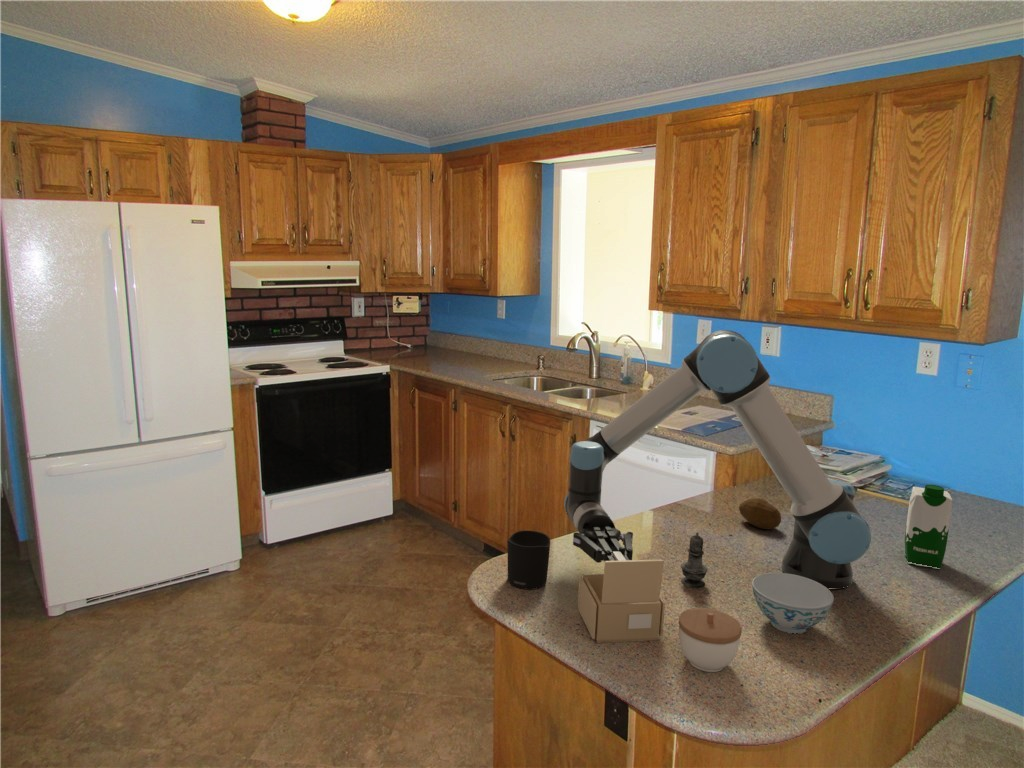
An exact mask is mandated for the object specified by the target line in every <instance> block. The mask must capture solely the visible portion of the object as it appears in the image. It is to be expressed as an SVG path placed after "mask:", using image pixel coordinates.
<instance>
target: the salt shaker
mask: <svg viewBox="0 0 1024 768" xmlns="http://www.w3.org/2000/svg"><path fill="white" fill-rule="evenodd" d="M703 547H704V538H703V537H702V536H700V535H699V532H698V531H697V532H696V533H695V535H691V537H690V538H689V548H688V549H687V553H688V556H687V557H688V559H687V562H683V563H681V565H680V568H681V572H682V575H683V576H684V577H683V578H681V579H680V582H681V584H683V585H684V586H685V587H688V588H692V589H693V588H694V589H700V588H701V589H702V588H704V587H706V582H705V581H704V580H703V579H705V577H706V575H707V573H708V571H709V569H708V567H707V566H706V565H704V564H703V555H704V554H705V552H704V548H703Z"/></svg>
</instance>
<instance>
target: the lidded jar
mask: <svg viewBox="0 0 1024 768" xmlns="http://www.w3.org/2000/svg"><path fill="white" fill-rule="evenodd" d="M741 635H742V624H740V622H739V621H738V620H737V619H736V618H735V617H733V616H732V615H730V614H728V613H726V612H723V611H720V610H716V609H713V608H708V607H707V608H705V607H694V608H689V609H686V610H684V611H683V612H681V613H680V615H679V617H678V639H679V642H678V643H679V647H680V649H681V652H682V653H683V655H684V657H685V658H686V659H687V661H688V662H689V663H690V665H691V666H692V667H693V668H695V669H697V670H700V671H703V672H707V673H717V672H720V671H722V670H723V669H724V668H725V667H728V665H730V664H731V663H732V662H733V661H734V659H735V657H736V656H737V653H738V651H739V647H740V643H741V642H740V641H741Z"/></svg>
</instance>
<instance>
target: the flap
mask: <svg viewBox="0 0 1024 768" xmlns="http://www.w3.org/2000/svg"><path fill="white" fill-rule="evenodd" d="M664 563H665V560H664V559H634V560H633V559H632V560H622V561H605V562H604V568H603V574H604V578H603V589H602V600H601V602H602V603H627V602H656V601H659V599H660V597H661V588H662V582H663V581H662V580H663V573H664V572H663V571H664Z"/></svg>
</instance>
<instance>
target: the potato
mask: <svg viewBox="0 0 1024 768" xmlns="http://www.w3.org/2000/svg"><path fill="white" fill-rule="evenodd" d="M738 511H739V513H740V515H741V516H742V518H744V519H745V520H746V521H747V522H748V523H749V524H751V525H752V526H754V527H756V528H758V529H761V530H773V529H775V528H778V527H779V526H780V524H781V522H782V516H781V512H780V511H779V509H778V508H777V507H775V506H774V505H773V504H771V503H770V502H769V501H767V500H766V499H765V498H761V497H760V498H750V499H746V500H744V501H743V502H741V503H740V504H739V506H738Z"/></svg>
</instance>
